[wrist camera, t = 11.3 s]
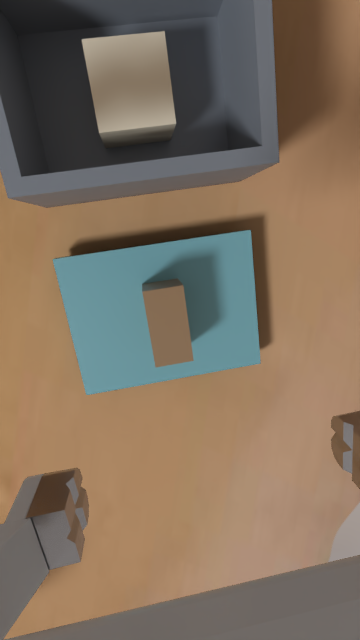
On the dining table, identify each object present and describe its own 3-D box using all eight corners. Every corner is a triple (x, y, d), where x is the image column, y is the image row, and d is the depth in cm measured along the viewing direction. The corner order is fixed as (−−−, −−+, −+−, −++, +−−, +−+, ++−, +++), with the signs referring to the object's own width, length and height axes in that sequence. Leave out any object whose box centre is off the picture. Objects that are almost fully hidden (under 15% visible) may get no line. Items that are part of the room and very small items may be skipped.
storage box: (3, 27, 22) (-68, -78, 15) (226, 7, 24) (267, -100, 16) (47, 207, 26) (8, 198, 18) (239, 181, 27) (279, 162, 19)
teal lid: (58, 257, 27) (39, 263, 22) (243, 229, 28) (267, 229, 23) (89, 384, 30) (79, 417, 25) (253, 355, 32) (275, 380, 26)
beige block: (91, 71, 23) (81, 39, 19) (160, 63, 23) (164, 31, 19) (105, 148, 24) (99, 133, 20) (170, 140, 25) (176, 123, 21)
